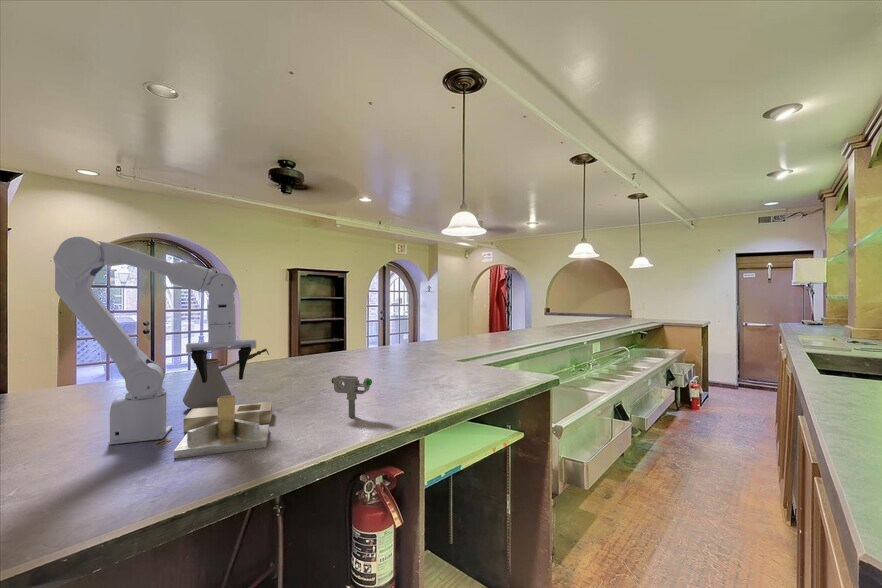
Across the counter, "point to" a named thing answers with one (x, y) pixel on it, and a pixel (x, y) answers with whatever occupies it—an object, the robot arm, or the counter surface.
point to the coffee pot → (209, 385)
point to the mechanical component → (350, 389)
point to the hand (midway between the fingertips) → (223, 380)
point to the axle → (226, 416)
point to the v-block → (222, 439)
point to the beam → (242, 412)
